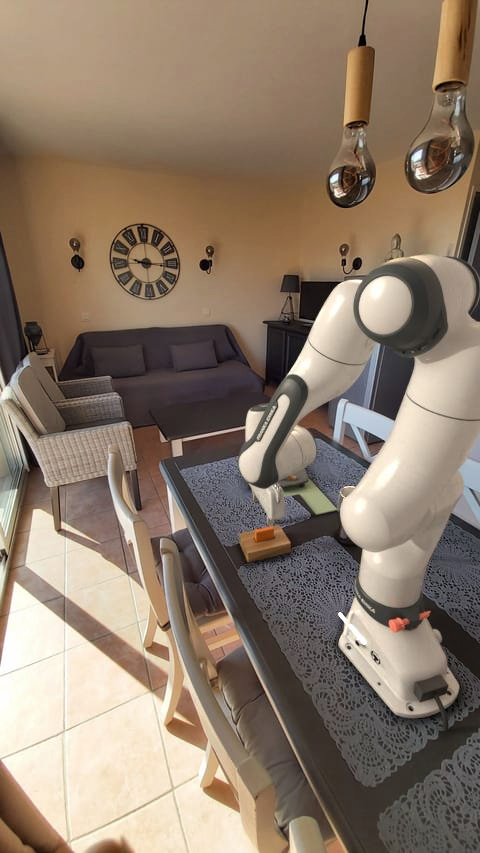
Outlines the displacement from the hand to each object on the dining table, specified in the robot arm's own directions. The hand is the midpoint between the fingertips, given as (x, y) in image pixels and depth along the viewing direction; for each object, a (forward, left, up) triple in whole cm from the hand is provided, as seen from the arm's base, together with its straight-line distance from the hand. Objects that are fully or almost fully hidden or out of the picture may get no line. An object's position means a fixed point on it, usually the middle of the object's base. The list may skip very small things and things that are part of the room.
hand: (263, 511), depth 94 cm
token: (0, 0, -11) cm, 11 cm away
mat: (+19, -18, -12) cm, 29 cm away
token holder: (0, 0, -12) cm, 12 cm away
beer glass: (-3, -24, -13) cm, 27 cm away
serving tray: (+42, -19, -12) cm, 47 cm away
